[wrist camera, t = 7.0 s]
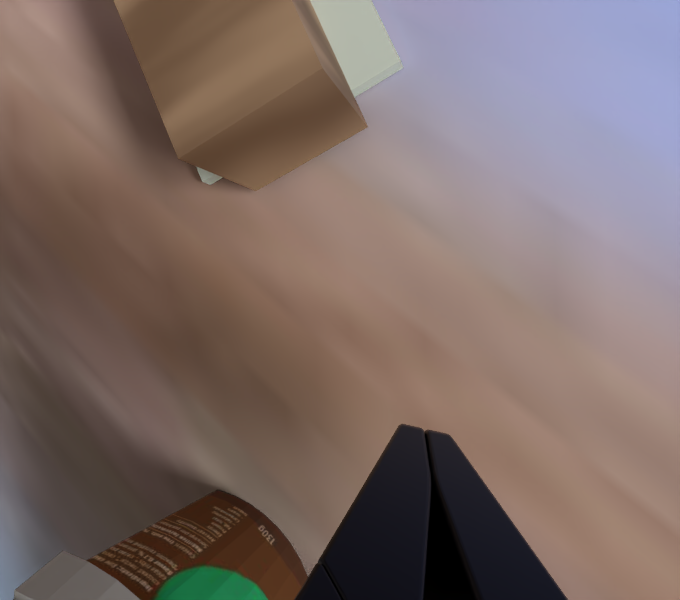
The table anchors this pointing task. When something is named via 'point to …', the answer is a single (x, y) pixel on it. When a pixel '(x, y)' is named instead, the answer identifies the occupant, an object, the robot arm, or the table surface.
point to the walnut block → (242, 83)
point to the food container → (182, 560)
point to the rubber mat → (352, 47)
